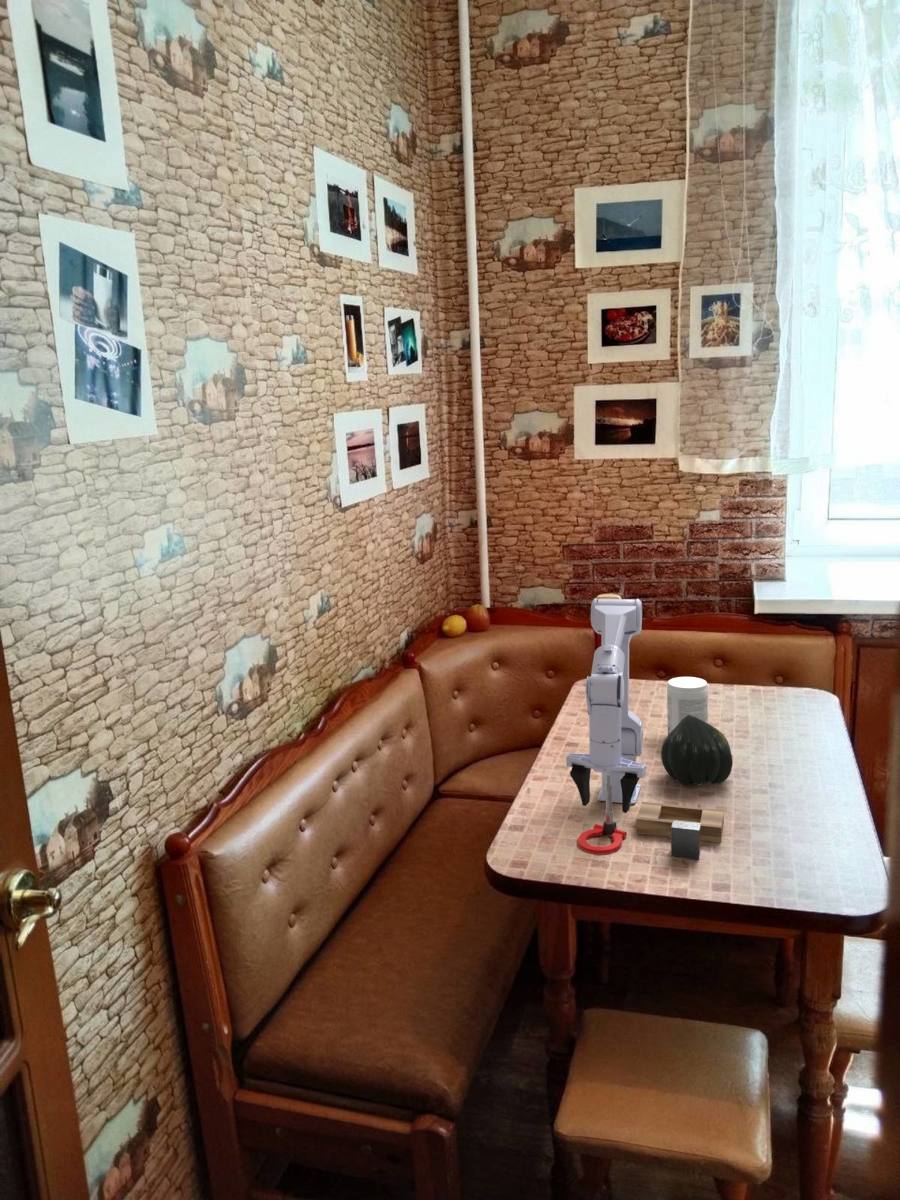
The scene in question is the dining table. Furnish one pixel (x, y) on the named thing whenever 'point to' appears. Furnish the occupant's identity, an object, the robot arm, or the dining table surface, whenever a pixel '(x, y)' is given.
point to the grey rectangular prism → (685, 840)
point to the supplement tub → (686, 700)
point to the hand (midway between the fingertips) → (605, 807)
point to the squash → (696, 753)
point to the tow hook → (604, 828)
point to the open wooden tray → (662, 815)
